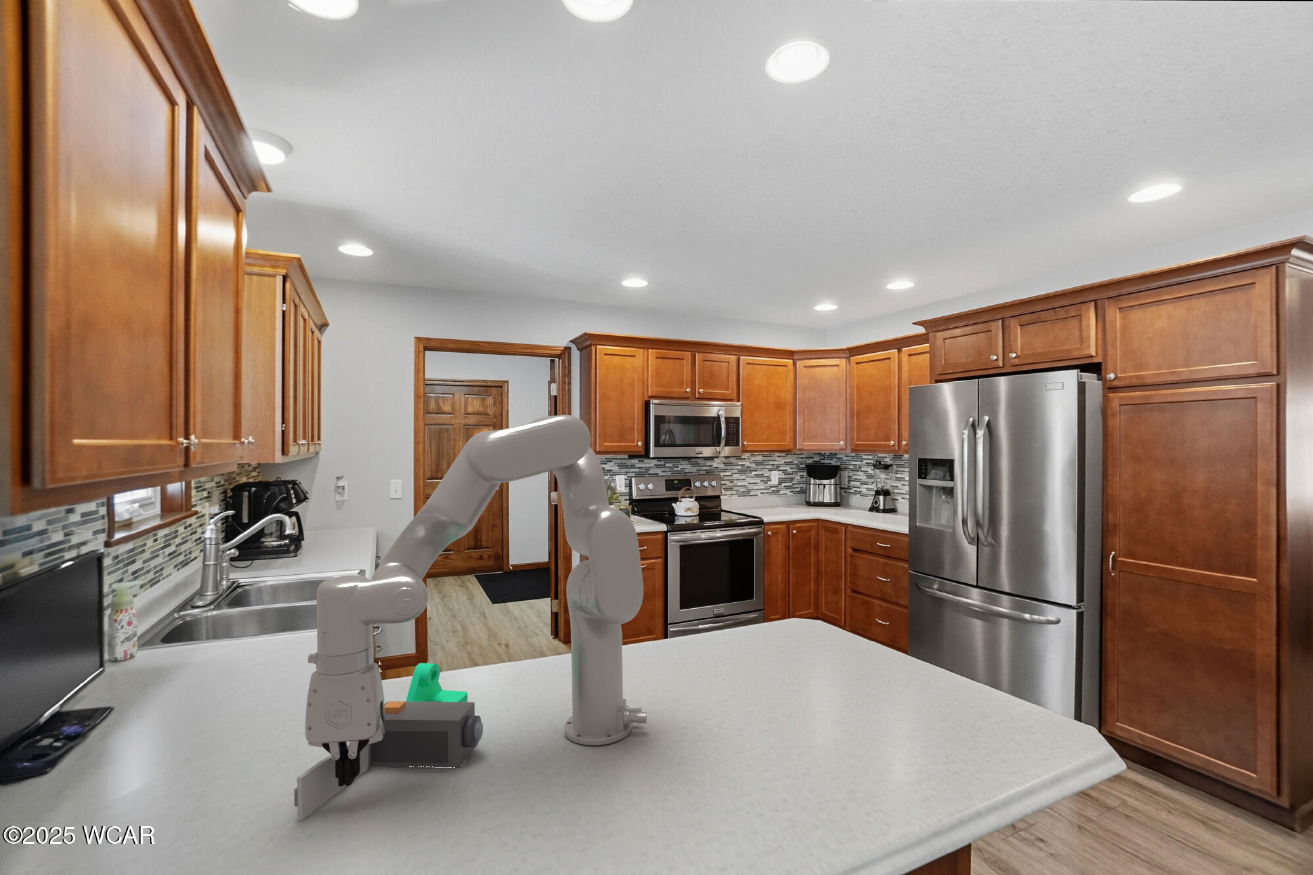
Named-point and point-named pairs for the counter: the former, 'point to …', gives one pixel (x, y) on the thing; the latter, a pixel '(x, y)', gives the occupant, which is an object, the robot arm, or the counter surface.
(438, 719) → the camera body
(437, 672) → the camera mount
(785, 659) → the counter surface
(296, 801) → the door
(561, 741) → the counter surface
